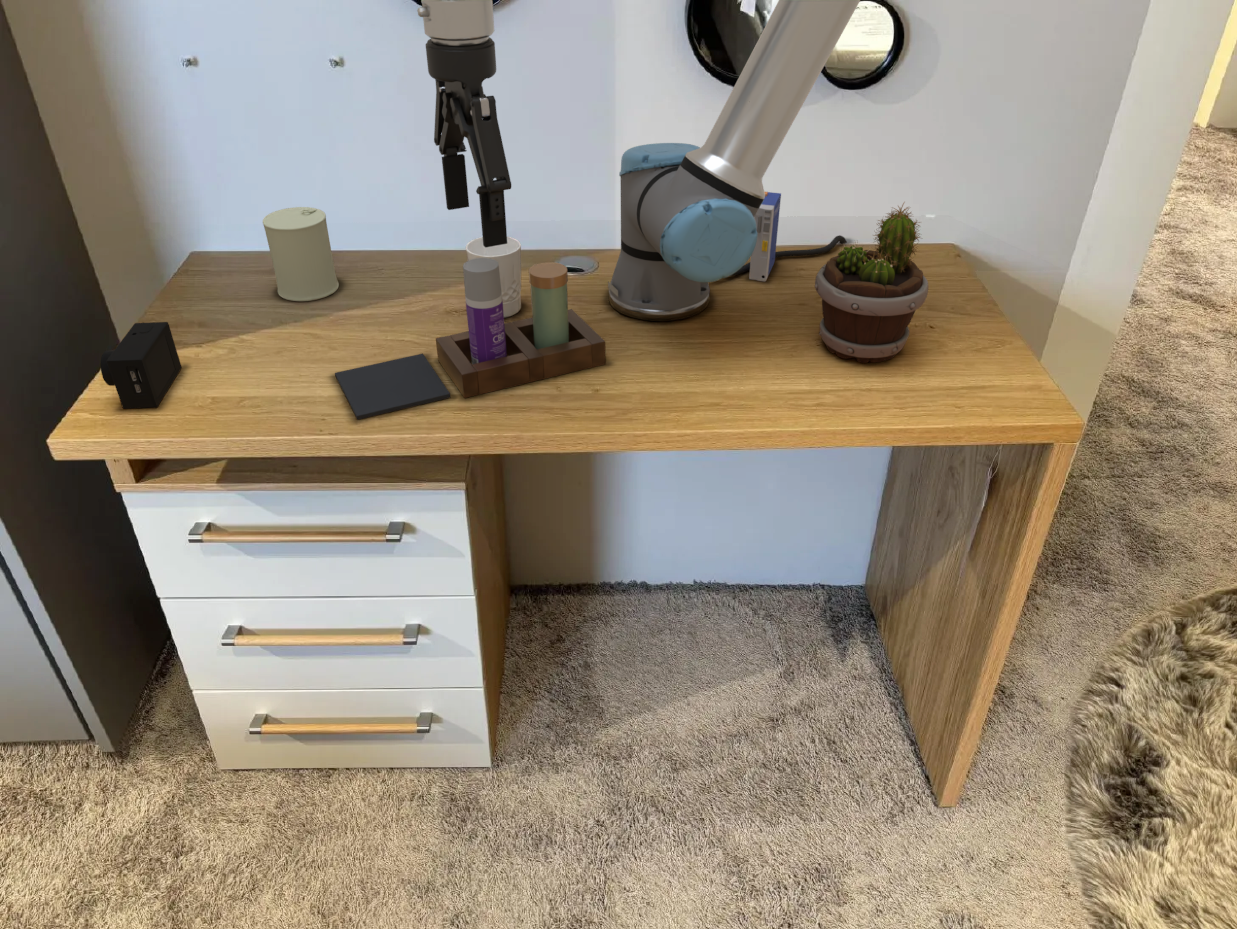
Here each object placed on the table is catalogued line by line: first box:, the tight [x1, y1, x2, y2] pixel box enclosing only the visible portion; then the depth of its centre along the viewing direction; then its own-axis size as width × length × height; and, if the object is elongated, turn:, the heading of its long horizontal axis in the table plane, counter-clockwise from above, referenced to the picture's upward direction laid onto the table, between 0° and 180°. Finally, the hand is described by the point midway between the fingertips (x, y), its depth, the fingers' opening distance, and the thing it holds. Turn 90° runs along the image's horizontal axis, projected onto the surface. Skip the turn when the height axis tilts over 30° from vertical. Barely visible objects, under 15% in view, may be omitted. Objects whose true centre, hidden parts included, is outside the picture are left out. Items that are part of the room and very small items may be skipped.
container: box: [462, 258, 508, 364], centre depth 124 cm, size 5×5×15 cm
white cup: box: [465, 235, 522, 318], centre depth 140 cm, size 8×8×10 cm
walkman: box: [748, 191, 782, 282], centre depth 151 cm, size 8×3×12 cm, turn 162°
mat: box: [334, 353, 451, 420], centre depth 124 cm, size 12×12×1 cm
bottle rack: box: [435, 308, 606, 399], centre depth 129 cm, size 20×11×4 cm, turn 116°
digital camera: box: [100, 321, 183, 410], centre depth 122 cm, size 10×5×7 cm, turn 4°
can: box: [262, 206, 340, 302], centre depth 146 cm, size 9×9×12 cm
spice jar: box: [528, 261, 569, 349], centre depth 128 cm, size 5×5×13 cm
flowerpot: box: [814, 201, 929, 364], centre depth 127 cm, size 14×15×20 cm
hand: (475, 225), depth 117 cm, fingers open, 13 cm apart
